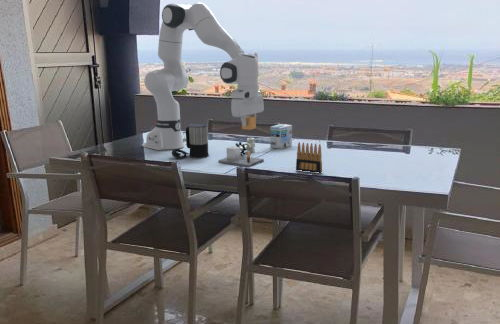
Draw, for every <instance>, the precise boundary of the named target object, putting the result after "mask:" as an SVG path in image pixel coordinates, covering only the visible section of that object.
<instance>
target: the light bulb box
mask: <svg viewBox="0 0 500 324" xmlns="http://www.w3.org/2000/svg"><path fill="white" fill-rule="evenodd" d="M269 129H270V130H269V131H270V132H269V133H270V137H269V138H270V141H269V143H270V145H269V146H270V148H274V149H278V150H280V149H285V148H289V147H292V146H293V125H292V124H285V123H280V124H276V125H272V126H270V128H269Z"/></svg>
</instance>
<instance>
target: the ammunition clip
mask: <svg viewBox="0 0 500 324" xmlns="http://www.w3.org/2000/svg"><path fill="white" fill-rule="evenodd" d="M309 145H310V146H309ZM296 151H297V152H296V159H295V160H296V162H295V171H296V170H302V171H310V172H319V173H321V172H322V173H323V162H322V160H323V159H322V156H323V155H322V146H321V144H320V143H319V145H318V146H317V143H315V144H314V146H313V143H310V144H309V142H307V143H306V146H305V141H304V142H302V144H301V142H298V143H297V150H296ZM322 173H321V174H322Z"/></svg>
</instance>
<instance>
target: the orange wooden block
mask: <svg viewBox="0 0 500 324" xmlns="http://www.w3.org/2000/svg"><path fill="white" fill-rule="evenodd" d="M246 122H248V123H247V124H248V125H247V126H242V125H241V130H248V131H251V130H254V129H257V116H256V117H253V116H251V115H246Z"/></svg>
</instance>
